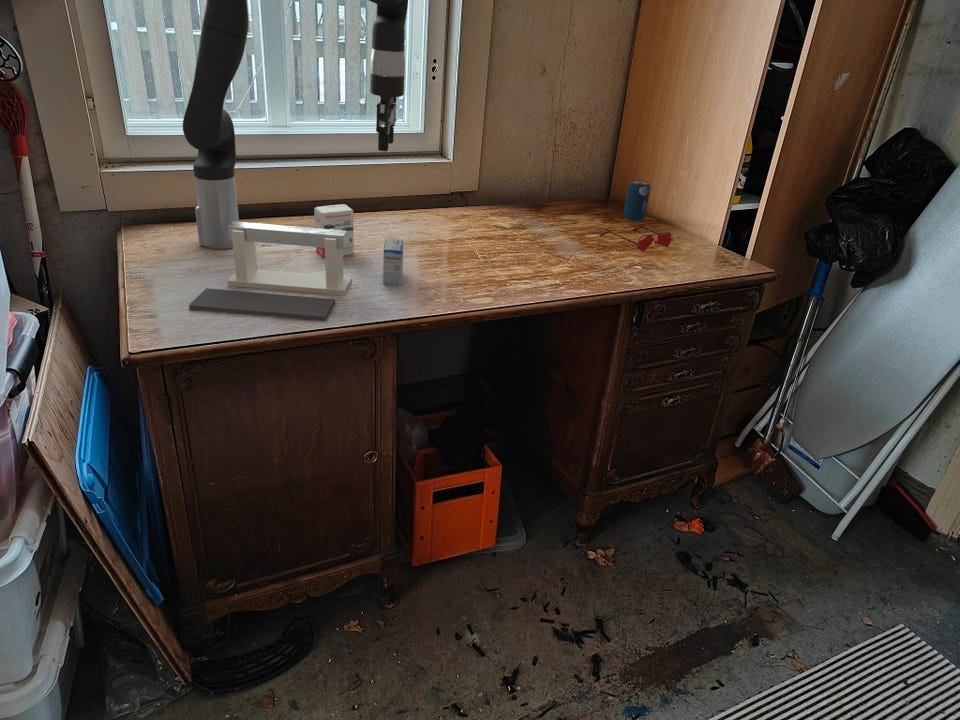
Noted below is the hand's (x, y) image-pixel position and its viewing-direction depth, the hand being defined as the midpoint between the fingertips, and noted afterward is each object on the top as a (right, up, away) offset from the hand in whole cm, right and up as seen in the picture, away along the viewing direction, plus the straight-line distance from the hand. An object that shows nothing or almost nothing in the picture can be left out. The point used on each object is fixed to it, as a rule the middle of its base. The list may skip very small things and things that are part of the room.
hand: (385, 146), depth 160 cm
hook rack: (-21, -32, -4) cm, 39 cm away
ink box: (-15, -23, +15) cm, 31 cm away
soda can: (+72, -4, +63) cm, 95 cm away
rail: (-20, -24, -9) cm, 32 cm away
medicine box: (+1, -31, +3) cm, 31 cm away
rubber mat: (-23, -38, -15) cm, 48 cm away
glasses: (+68, -15, +43) cm, 82 cm away
